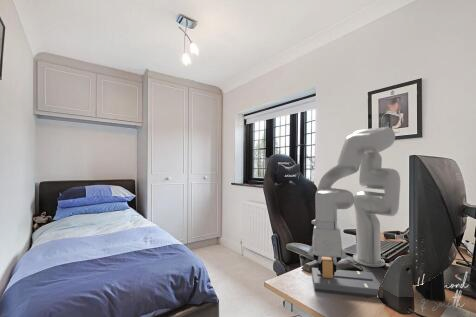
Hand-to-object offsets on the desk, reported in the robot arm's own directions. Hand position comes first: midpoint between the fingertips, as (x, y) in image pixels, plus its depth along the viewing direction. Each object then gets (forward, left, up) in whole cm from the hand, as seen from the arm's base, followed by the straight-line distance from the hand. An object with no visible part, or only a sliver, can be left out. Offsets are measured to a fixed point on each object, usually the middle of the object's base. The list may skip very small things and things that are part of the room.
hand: (327, 272), depth 88 cm
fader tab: (0, 0, -3) cm, 3 cm away
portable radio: (+1, +33, -4) cm, 33 cm away
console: (0, +6, -4) cm, 7 cm away
